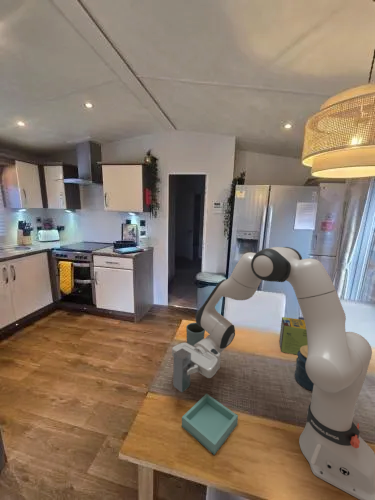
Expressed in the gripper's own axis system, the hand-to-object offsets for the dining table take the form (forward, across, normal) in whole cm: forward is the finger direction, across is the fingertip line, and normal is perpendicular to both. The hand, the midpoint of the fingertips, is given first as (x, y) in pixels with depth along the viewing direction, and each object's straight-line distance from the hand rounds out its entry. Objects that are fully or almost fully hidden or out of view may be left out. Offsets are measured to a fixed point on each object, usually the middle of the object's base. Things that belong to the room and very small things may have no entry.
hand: (180, 368), depth 88 cm
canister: (-49, +34, +16) cm, 62 cm away
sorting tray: (-1, +14, +16) cm, 21 cm away
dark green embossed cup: (-32, -19, +16) cm, 41 cm away
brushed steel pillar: (-1, 0, +8) cm, 8 cm away
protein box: (-69, +21, +16) cm, 74 cm away
